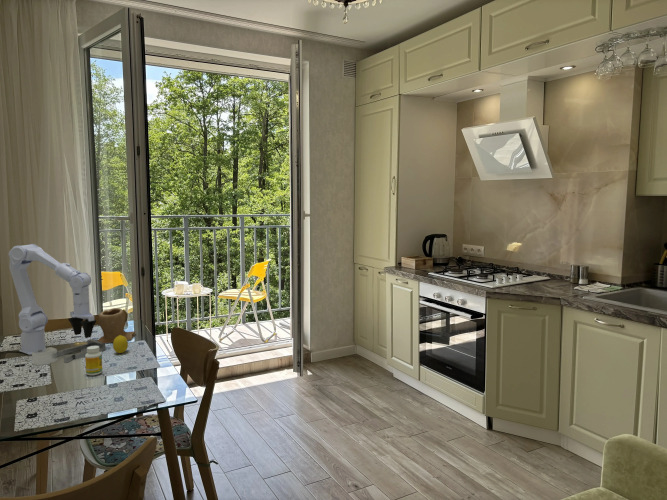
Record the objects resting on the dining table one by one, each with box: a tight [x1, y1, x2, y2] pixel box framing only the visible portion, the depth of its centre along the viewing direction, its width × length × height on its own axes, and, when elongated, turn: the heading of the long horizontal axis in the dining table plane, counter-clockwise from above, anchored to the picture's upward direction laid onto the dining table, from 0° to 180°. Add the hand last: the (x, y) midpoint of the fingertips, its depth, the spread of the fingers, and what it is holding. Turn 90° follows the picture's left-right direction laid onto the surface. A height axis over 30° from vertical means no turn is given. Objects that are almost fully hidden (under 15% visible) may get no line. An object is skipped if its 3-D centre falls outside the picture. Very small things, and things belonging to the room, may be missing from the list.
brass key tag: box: [74, 341, 87, 347], centre depth 206 cm, size 6×3×2 cm, turn 76°
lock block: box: [31, 346, 58, 367], centre depth 185 cm, size 4×7×5 cm, turn 147°
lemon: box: [112, 335, 129, 354], centre depth 195 cm, size 6×6×8 cm
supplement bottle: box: [84, 346, 103, 376], centre depth 173 cm, size 5×5×10 cm
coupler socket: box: [57, 339, 107, 364], centre depth 195 cm, size 13×17×4 cm
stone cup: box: [97, 307, 136, 345], centre depth 211 cm, size 15×12×15 cm
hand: (83, 335), depth 196 cm, fingers open, 7 cm apart
